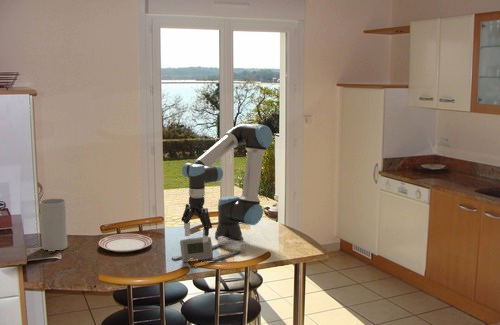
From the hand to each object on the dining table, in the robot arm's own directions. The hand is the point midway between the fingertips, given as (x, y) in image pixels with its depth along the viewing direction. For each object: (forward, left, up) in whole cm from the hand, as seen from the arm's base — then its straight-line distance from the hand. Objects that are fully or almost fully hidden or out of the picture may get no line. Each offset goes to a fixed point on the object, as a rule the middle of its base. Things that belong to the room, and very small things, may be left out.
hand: (196, 238), depth 274 cm
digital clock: (0, 0, -11) cm, 11 cm away
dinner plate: (-41, -14, -11) cm, 45 cm away
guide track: (0, +8, -11) cm, 14 cm away
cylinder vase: (-64, -42, -11) cm, 77 cm away
